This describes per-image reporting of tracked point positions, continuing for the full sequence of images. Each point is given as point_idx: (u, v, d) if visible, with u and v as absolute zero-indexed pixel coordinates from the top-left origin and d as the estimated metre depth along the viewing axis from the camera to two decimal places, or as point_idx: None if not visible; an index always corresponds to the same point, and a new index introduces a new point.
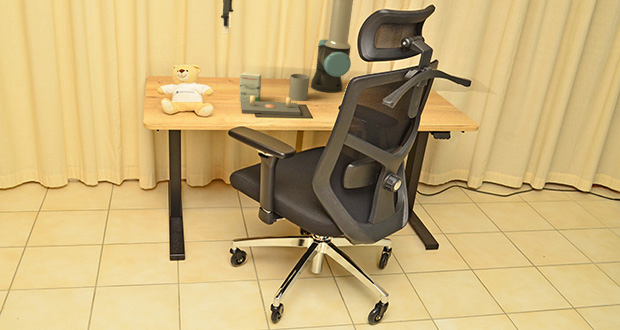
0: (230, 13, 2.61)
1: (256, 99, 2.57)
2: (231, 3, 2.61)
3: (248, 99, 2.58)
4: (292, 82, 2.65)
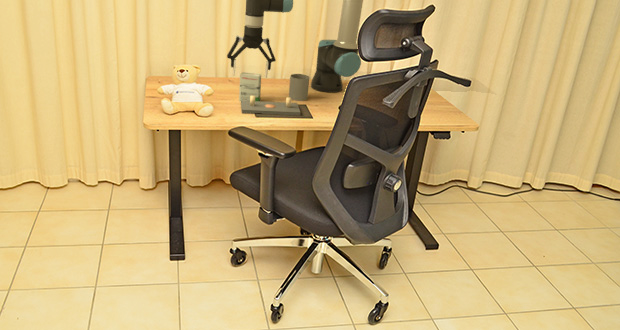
0: (266, 63, 2.54)
1: (256, 99, 2.57)
2: (270, 54, 2.52)
3: (248, 99, 2.58)
4: (292, 82, 2.65)
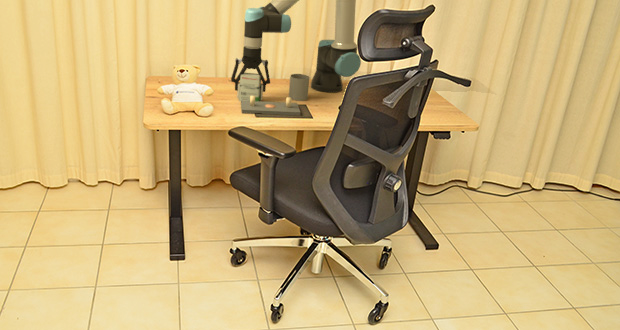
0: (261, 85, 2.58)
1: (256, 99, 2.57)
2: (266, 76, 2.56)
3: (248, 99, 2.58)
4: (292, 82, 2.65)
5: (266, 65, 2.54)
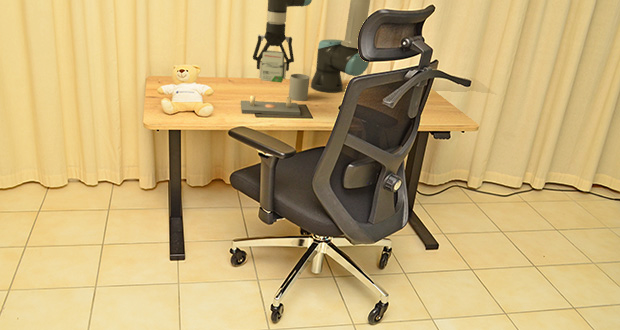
0: (284, 64, 2.44)
1: (279, 78, 2.44)
2: (290, 53, 2.42)
3: (271, 78, 2.44)
4: (292, 82, 2.65)
5: (290, 42, 2.40)
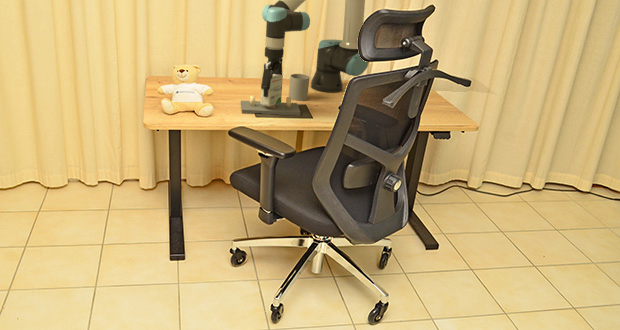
0: None
1: (280, 99, 2.52)
2: (281, 73, 2.51)
3: (275, 101, 2.49)
4: (292, 82, 2.65)
5: (281, 62, 2.49)
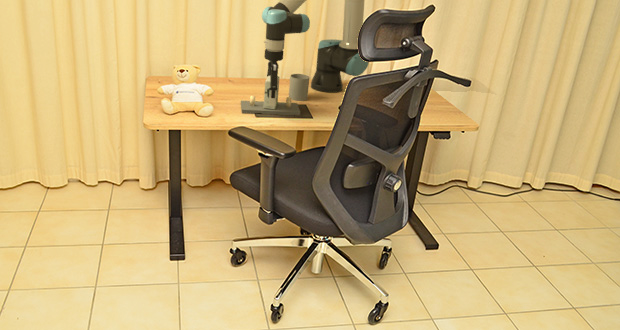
0: None
1: (277, 100, 2.53)
2: None
3: (276, 103, 2.51)
4: (292, 82, 2.65)
5: None
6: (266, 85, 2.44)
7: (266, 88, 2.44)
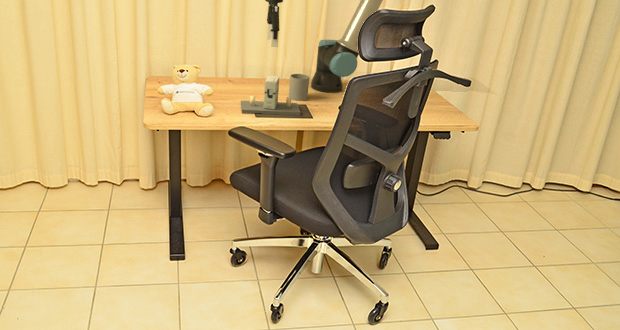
0: (272, 25, 2.61)
1: (277, 100, 2.54)
2: None
3: (276, 103, 2.51)
4: (292, 82, 2.65)
5: None
6: (266, 85, 2.44)
7: (266, 88, 2.44)
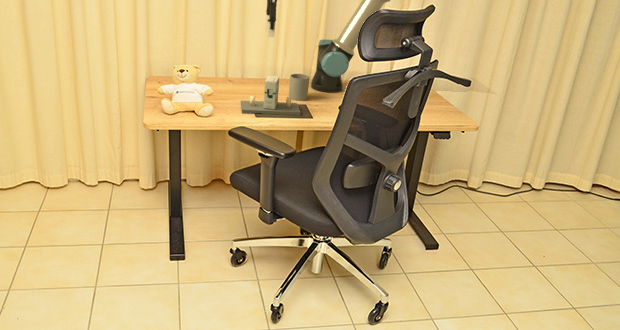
0: None
1: (277, 100, 2.53)
2: None
3: (276, 103, 2.51)
4: (292, 82, 2.65)
5: None
6: (266, 85, 2.44)
7: (266, 88, 2.44)
